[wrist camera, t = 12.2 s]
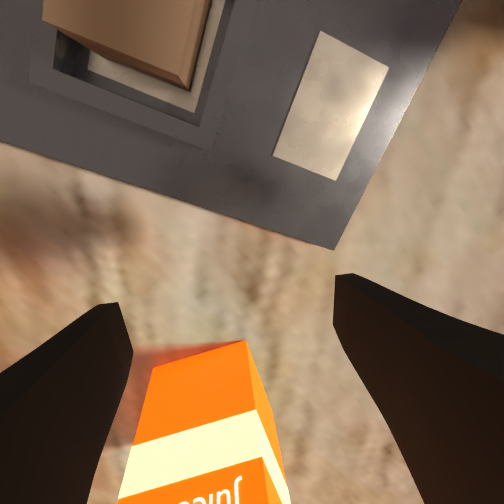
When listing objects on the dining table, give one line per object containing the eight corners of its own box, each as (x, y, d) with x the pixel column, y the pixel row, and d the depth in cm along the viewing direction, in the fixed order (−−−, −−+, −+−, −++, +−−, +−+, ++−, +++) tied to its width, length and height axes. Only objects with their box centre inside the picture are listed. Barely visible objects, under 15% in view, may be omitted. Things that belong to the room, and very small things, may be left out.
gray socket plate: (446, 5, 15) (503, -25, 12) (327, 243, 20) (346, 264, 17) (-60, -320, 9) (-182, -518, 7) (-56, 115, 14) (-126, 112, 11)
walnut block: (213, -6, 13) (212, -82, 8) (190, 92, 14) (177, 75, 9) (117, -52, 12) (55, -168, 7) (103, 57, 13) (42, 19, 8)
